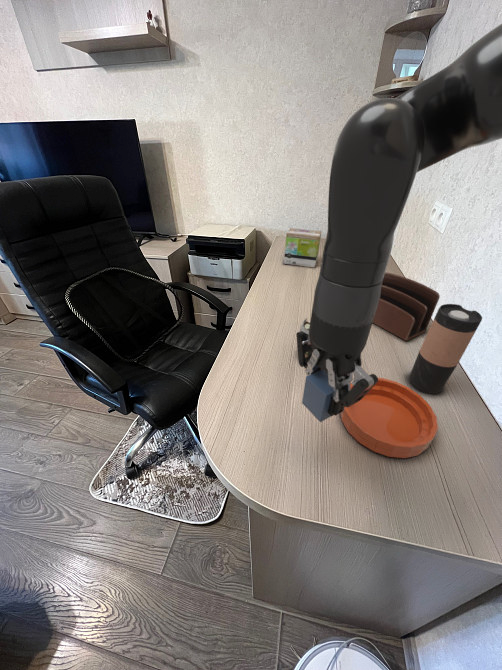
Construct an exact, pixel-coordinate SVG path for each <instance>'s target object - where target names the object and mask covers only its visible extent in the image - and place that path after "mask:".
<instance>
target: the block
mask: <svg viewBox="0 0 502 670" xmlns="http://www.w3.org/2000/svg"><path fill="white" fill-rule="evenodd" d="M340 390H342V387H341V388H340ZM331 397H332V387H331V386H329V381H328V374H327V372H326V371H325V370H323V369H322V370H320V371H317V372H315V373H313V374H311V375H309V376H307V375H306V377H305V382H304V388H303V394H302V398H301V399H302V400H301V403H302V405H303V406H304V407H305V408H306V409H307V410H308V411H309V412H310V413H311V414H312V415H313V417H315V419H316V420H317V421H318V422H319V423H322V422H324V421H326V420H328V419H329V418H331V417H332V416H330V415H329V414H328V409H329V405H330V400H331Z"/></svg>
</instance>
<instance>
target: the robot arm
mask: <svg viewBox="0 0 502 670" xmlns="http://www.w3.org/2000/svg"><path fill="white" fill-rule="evenodd" d="M501 139H502V23H500V24H499V25H497V26H496V27H494V28H493V29H492V30H490V31H489V32H487V33H486V34H485V35H483V36H482V37H481V38H479V39H478V40H477V41H475V42H474V43H473V44H472V45H471V46H469V47H468V48H467V49H466V50H465V51H464V52H462V54H461V55H460V56H458V57H457V58H456V59H455V60H454V61H453V62H452V63H450V64H449V65H447V66H446V67H444V68H443V69H440V70H439V71H437V72H436V73H434V74H433V75H431V76H429V77H427V78H426V79H425V80H423V81H421V82H419V83H418V84H417V85H414V86H413V87H411V88H409V89H408V90H406V91H404V92H403V93H401V94H399V95H398V96H396V97H382V98H379V99H375V100H372V101H370V102H368V103H366V104H365V105H363V106H362V107H360V108H359V109H358V110H357V111H355V112H354V113H353V114H352V115H351V117H349V119H348V120H347V121H346V123H345V124H344V126H343V127H342V129H341V130H340V133H339V134H338V137H337V139H336V143H335V145H334V149H333V153H332V154H333V155H332V159H331V165H330V173H329V181H328V182H329V183H328V185H329V186H328V198H327V199H328V200H327V201H328V204H327V232H326V236H325V239H324V245H323V250H322V257H321V263H320V269H319V274H318V279H317V282H316V286H315V289H314V294H313V302H312V309H311V313H310V314H311V315H310V322H309V323H310V327H309V329H305V330H302V331H300V330H299V331H298V332H296V335H295V336H296V345H297V346H296V348H297V359H298V364H299V366H300V367H301V368H304V369H305V370H304V373H305V375H306V376H309V375H311V374H313V373H315V372H317V371H320V370H322V369H323V370H325V371H326V372H327V374H328V381H329V386H331V387H332V397H331V400H330V405H329V409H328V414H329V415H330V416H331V417H333V416H334V417H336V416H337V415H340V413H341V412H343V411H344V408H345V407H349V406H351V405H353V404H355V403H357V402H358V401H360V400H361V399H362V398H363V397H364V396H365V395H366V394H367V393H368V392H369V391H370V390H371V389H372V387H373V386H374V385H375V384H376V383H377V382H378V378H379V377H378V376H377V375H376V374H375V373H371V374H368V373H367V371H366V370H365V369H364V368H363V367H362V353H363V350H364V349H365V347H366V345H367V343H368V339H369V336H370V332H371V329H372V325H373V324H374V323H373V319H374V316H375V313H376V310H377V306H378V303H379V299H380V294H381V286H382V282H383V278H384V275H385V272H386V271H387V267H388V264H389V260H390V258H391V254H392V250H393V245H394V239H395V232H396V230H397V228H398V225H399V223H400V220H401V218H402V214H403V213H404V209H405V206H406V204H407V201H408V199H409V196H410V193H411V190H412V187H413V185H414V182H415V179H416V175H417V174H418V173H419V172H421V171H423V170H425V169H428V168H430V167H431V166H434V165H435V164H437V163H440V162H441V161H445V160H446V159H448V158H450V157H452V156H454V155H457V154H458V153H461V152H462V151H465V150H467V149H471V148H475V147H479V146H480V147H481V146H484V145H487V144H490V143H493V142H496V141H499V140H501ZM306 352H308V357H306V358H305V353H306ZM353 376H354V377H353ZM350 383H352V385H353V388H352V389H351V390H350ZM341 387H342V390H340V388H341Z"/></svg>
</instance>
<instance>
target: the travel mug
mask: <svg viewBox="0 0 502 670" xmlns="http://www.w3.org/2000/svg"><path fill="white" fill-rule="evenodd" d="M482 320H483V316H482V315H481V314H480V312H478V311H477V310H468V309H466V308H464V307H463V305H461V304H457V303H445V304H442V305H440V306H439V307H438V308H437V312H436V314H435V316H434V318H433V320H432V322H431V324H430V327H429V329H428V331H427V334H426V335H425V337H424V340H423V341H422V344H421V347H420V349H419V350H418V354H417V356H416V359H415V361H414V363H413V366H412V368H411V372H410V373H409V377H408V382H409V383H410V385H411V386H412V387H413V388H414V389H415V390H417V391H418V392H420V393H424V394H427V395H437V394H440V393H441V391H442V390H443V389H444V387H445V385H446V384H447V383H448V380H449V379H450V378H451V376H452V374H453V373H454V371H455V370H456V368H457V366H458V365H459V363H460V361H461V359H462V357H463V356H464V354H465V351H466V350H467V348H468V346H469V344H470V343H471V341H472V339H473V337H474V335H475V334H476V331H477V330H478V328H479V326H480V324H481V322H482Z"/></svg>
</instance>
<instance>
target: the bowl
mask: <svg viewBox="0 0 502 670" xmlns="http://www.w3.org/2000/svg"><path fill="white" fill-rule="evenodd" d="M377 378H378V382H377V383H376V384H375V385H374V386H373V387H372V389H371V390H370V391H369V392H368V393H367V394H366V395H365V396H364V397H363V398H362V399H361V400H360V401H358V402H357V403H355V404H353V405H351V406H349V407H345V408H344V411H343V412H341V413H339V415H340V419H341V422H342V424H343V425H344V427H345V429H346V431H347V432H348V433H349V434H350V435H351V436H352V437H353V438H354V439H355V440H356V441H357V442H358V443H359V444H360V445H362V446H363V447H365V448H367V449H369V450H370V451H372V452H374V453H378V454H380V455H382V456H385V457H388V458H398V459H408V458H412V457H413V458H414V457H416V456H419V455H421V454H422V453H423V452H424V451H426V450H427V449H429V446H430V445H431V444H432V442H433V440H434V438H435V436H436V434H437V432H438V428H439V427H438V420H437V415H436V413H435V412H434V410H433V408H432V406H431V405H430V404H429V403H428V402H427V401H426V400H425V399H424V398H423V397H422V396H421V394H419V393H418V392H416V391H414V390H413V389H412V388H410V387H408V386H406V385H404V384H402V383H400V382H397V381H395V380H391V379H388V378H383V377H377ZM352 388H353V385H352V382H351V383H350V390H351V389H352Z"/></svg>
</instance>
